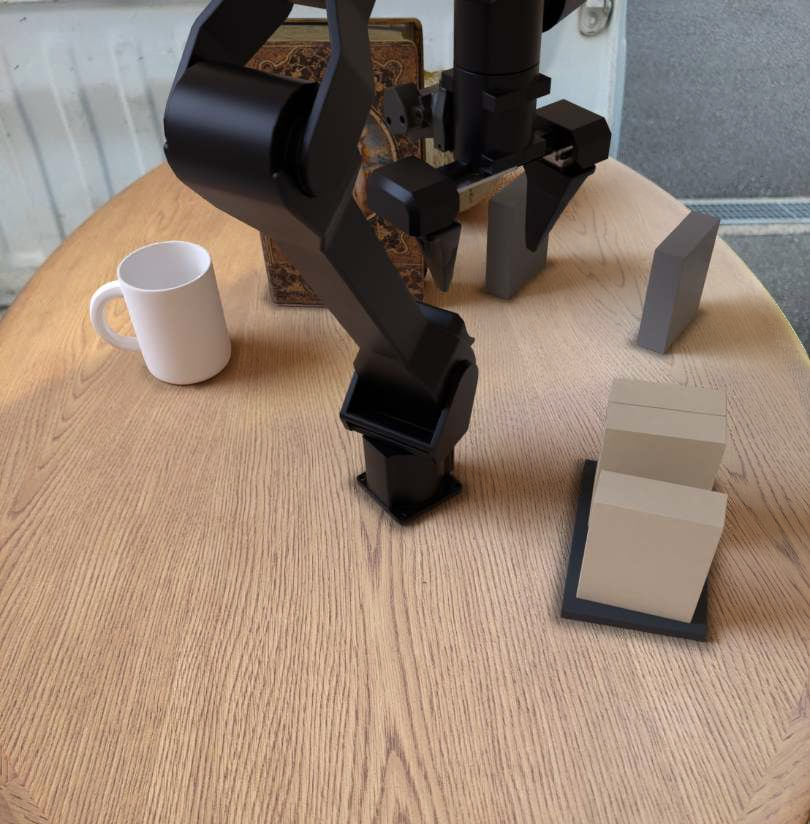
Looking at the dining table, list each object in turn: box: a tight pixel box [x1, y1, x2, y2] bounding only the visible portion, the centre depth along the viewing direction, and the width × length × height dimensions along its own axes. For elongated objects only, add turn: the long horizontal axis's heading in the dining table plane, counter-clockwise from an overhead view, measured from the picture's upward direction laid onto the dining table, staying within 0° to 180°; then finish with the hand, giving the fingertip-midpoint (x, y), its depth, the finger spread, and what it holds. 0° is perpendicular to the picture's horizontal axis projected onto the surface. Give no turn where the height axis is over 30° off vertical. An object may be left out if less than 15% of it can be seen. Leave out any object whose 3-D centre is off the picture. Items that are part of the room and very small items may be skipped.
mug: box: [89, 240, 232, 386], centre depth 80 cm, size 12×8×10 cm
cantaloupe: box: [424, 69, 505, 213], centre depth 97 cm, size 15×15×15 cm
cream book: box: [576, 470, 729, 623], centre depth 59 cm, size 8×3×10 cm, turn 72°
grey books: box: [484, 171, 722, 355], centre depth 85 cm, size 8×20×10 cm, turn 55°
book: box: [244, 16, 429, 308], centre depth 82 cm, size 16×6×25 cm, turn 84°
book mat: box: [560, 377, 728, 642], centre depth 63 cm, size 10×16×11 cm, turn 166°
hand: (488, 269), depth 69 cm, fingers open, 9 cm apart
